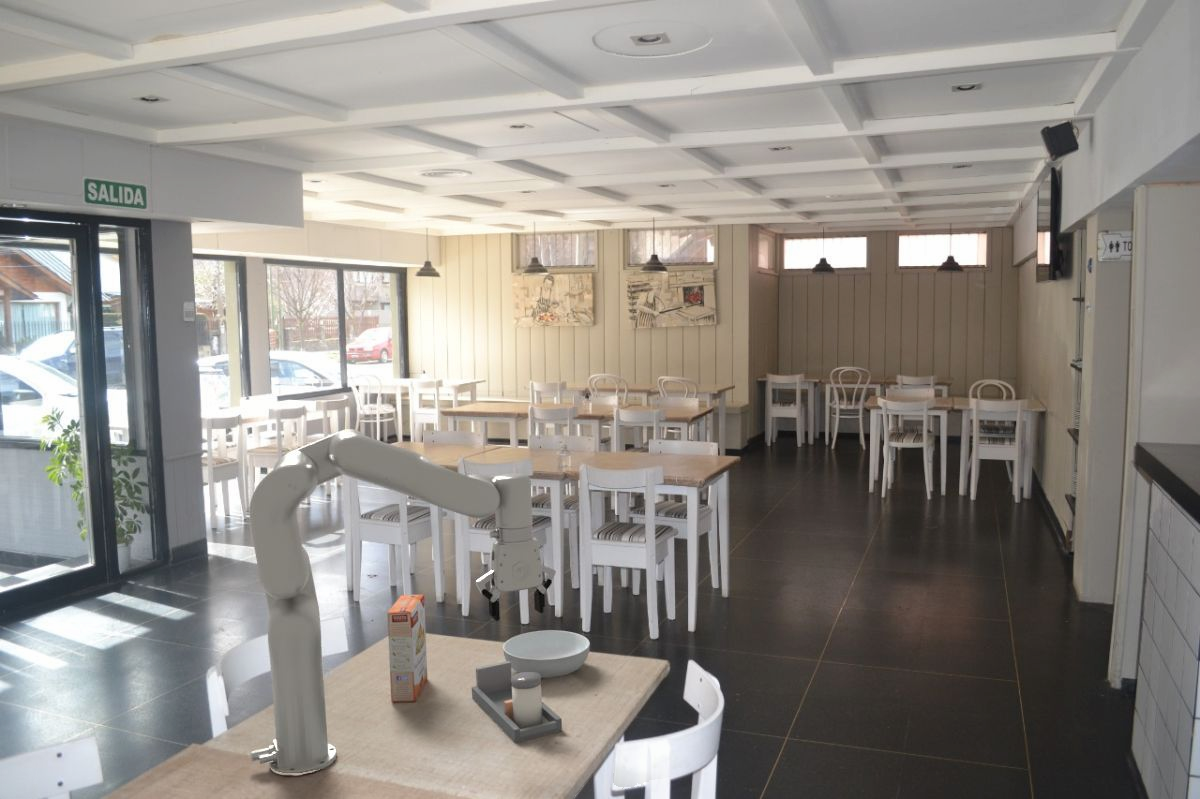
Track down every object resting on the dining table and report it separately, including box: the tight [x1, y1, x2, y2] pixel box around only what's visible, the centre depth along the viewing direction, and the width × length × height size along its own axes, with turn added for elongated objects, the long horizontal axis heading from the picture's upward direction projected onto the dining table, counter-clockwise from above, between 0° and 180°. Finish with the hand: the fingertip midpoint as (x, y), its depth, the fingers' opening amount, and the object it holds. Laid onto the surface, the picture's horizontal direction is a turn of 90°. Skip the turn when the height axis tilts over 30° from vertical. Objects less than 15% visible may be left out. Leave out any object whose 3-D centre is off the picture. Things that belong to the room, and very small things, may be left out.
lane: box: [471, 660, 563, 743], centre depth 202 cm, size 10×26×7 cm, turn 27°
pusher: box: [504, 699, 513, 719], centre depth 200 cm, size 7×5×4 cm
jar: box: [511, 672, 543, 729], centre depth 195 cm, size 6×6×10 cm
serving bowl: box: [502, 629, 591, 679], centre depth 226 cm, size 21×21×7 cm
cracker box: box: [386, 594, 428, 703], centre depth 216 cm, size 14×6×21 cm, turn 179°
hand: (517, 615), depth 194 cm, fingers open, 9 cm apart
